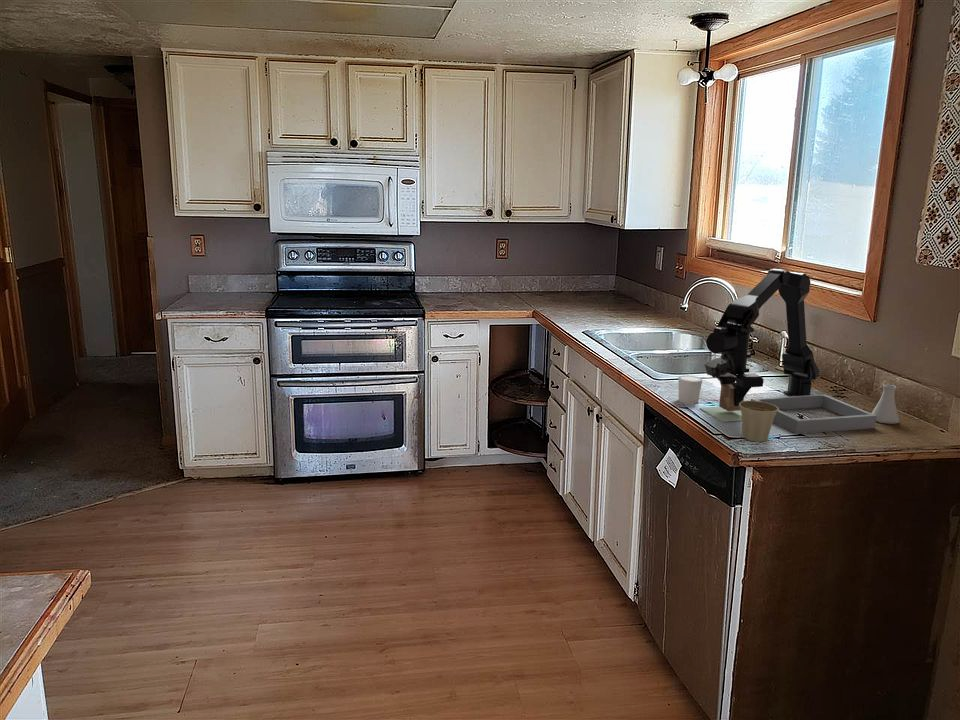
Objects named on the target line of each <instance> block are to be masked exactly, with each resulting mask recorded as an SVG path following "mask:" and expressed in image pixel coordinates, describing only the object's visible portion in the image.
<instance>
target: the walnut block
mask: <svg viewBox="0 0 960 720" xmlns="http://www.w3.org/2000/svg"><path fill="white" fill-rule="evenodd" d="M742 401H745V397H744V398H743V400H742ZM742 401H741V402H742ZM718 407H721V408H723V409H725V410H727V411H740V406H734V387H733V386H732V385H731V384H720V396H719V403H718Z"/></svg>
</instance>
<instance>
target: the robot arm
mask: <svg viewBox="0 0 960 720" xmlns="http://www.w3.org/2000/svg"><path fill="white" fill-rule="evenodd" d="M810 286H811V278H810V275H808V274H806V273H805V272H804V273H803V272H793V271H788V270H786V269H779V268H772V269H768V271H767V274H766V275H765V277H764V278H762V280H760V281H759V282H758V283H757V284H756V285H755V286H754V287H753V288H752V290H750V291H749V292H748V293H747V294H746V295H744V296H742V297H739V298H736V299H735V300H733V301H731V302H730V303H729V304H728V305H727V307H726V308H725V310H724V312H723V314H722V315H721V318H720V320H719V322H718V324H717V326H716V327H714V328H713V332H711V333H710V334H709V335H708V336H707V337H706V339H705V342H706V343H705V344H706V347H707V348H706V349H708V350H709V352H711V353H712V354H720V357H716V358H714V359H712V360H709V361H706V362H705V363H704V366H705V367H704V368H705V371H706V375H707V376H711V377H712V378H714V379H717V380H718V381H719V383H720V385H721V384H731V385H732V386H733V387H734V406H739V403H740V402H741V401H742V400H743V398H744V399H745V397H746V395H747V394H748V392H749V391H751V389H752V388H760V387H761V388H762V387H764V382H765V381H764V378H763V377H762V376H761V375H759V374H757V373H753V372H751V373H750V368H749V367H747V363H748V359H749V358H752V356H751V355H752V354H751V353H750V352H749V345H750V344H749V343H750V335H751V333H754V332H755V329H754V328H753V327H752V326H753V324H754V323H755V322H756V320H757V319H758V318H759V316H760V310H761V308H762V307H763V306H764V305H765V304H766V302H768V301H769V299H770V298H772V296H774V294H775V293H777V292H778V294H779V296H780V297H781V299H782V300H783V301H784V302H785V311H786V312H785V313H786V326H787V339H788V340H787V341H788V346H787V349H786V350H784V351H785V352H784V353H782V354H781V358H782V366H783V374H784V375H788V377H789V378H788V383H787V385H788V386H787V390H783V392H782V393H783V394H785V395H787V396H804V395H812V394H811V391H812V380H817V378H819V374H820V370H819V367H818V366H817V363H816V362H815V357H814V353H813V350H812V349H811V347H809V346H808V344H807V332H806V327H807V326H806V313H805V312H806V311H805V299H806V298H807V297H808V294H809V293H810V288H811V287H810Z"/></svg>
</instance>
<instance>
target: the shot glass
mask: <svg viewBox="0 0 960 720" xmlns="http://www.w3.org/2000/svg"><path fill="white" fill-rule="evenodd" d="M677 378H678V402H680V403H682V404H687V405H693V404H697V403H699V400H700V399H699V398H700V394H701V389H702V385H703V384H702V383H703V378H701V377H699V376H694V375H681V376H678V377H677Z"/></svg>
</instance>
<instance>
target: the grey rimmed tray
mask: <svg viewBox="0 0 960 720" xmlns="http://www.w3.org/2000/svg"><path fill="white" fill-rule="evenodd" d="M750 401H761V402H766V403H770V404H773V405H775V406H777V407H778V408H779V410H778V411H777V412H776V415H775V416H774V419H773V423H774V424H776V425H778V426H780V427H782V428H784V429H786V430H788V431H790V432H792V433H794V434H796V435H798V434H800V435H801V434H813V433H814V434H815V433H826V432H841V431H852V430H866V429H867V430H868V429H875V428H876V423H877V421H876V418H877V416H876V415H874V414H872V412H868V411H866V410H864V409H861V408H858V407H856V406H855V405H852V404H849V403H847V402H844V401H842V400H839V399H836V398H835V397H832V396H829V395H827V394H825V393H824V394H822V393H821V394H811V395H804V396H789V395H787V396H773V397H756V398H755V397H754V398H750ZM814 408H823V409H825V410H828V411H829V412H832V413H835V414H837V415H839V416H830V417H827V416H825V417H815V418H813V417H812V418H797V417H796V416H793V415H790V414H789V413H786V412H784V411H783V410H800V409H814Z"/></svg>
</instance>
